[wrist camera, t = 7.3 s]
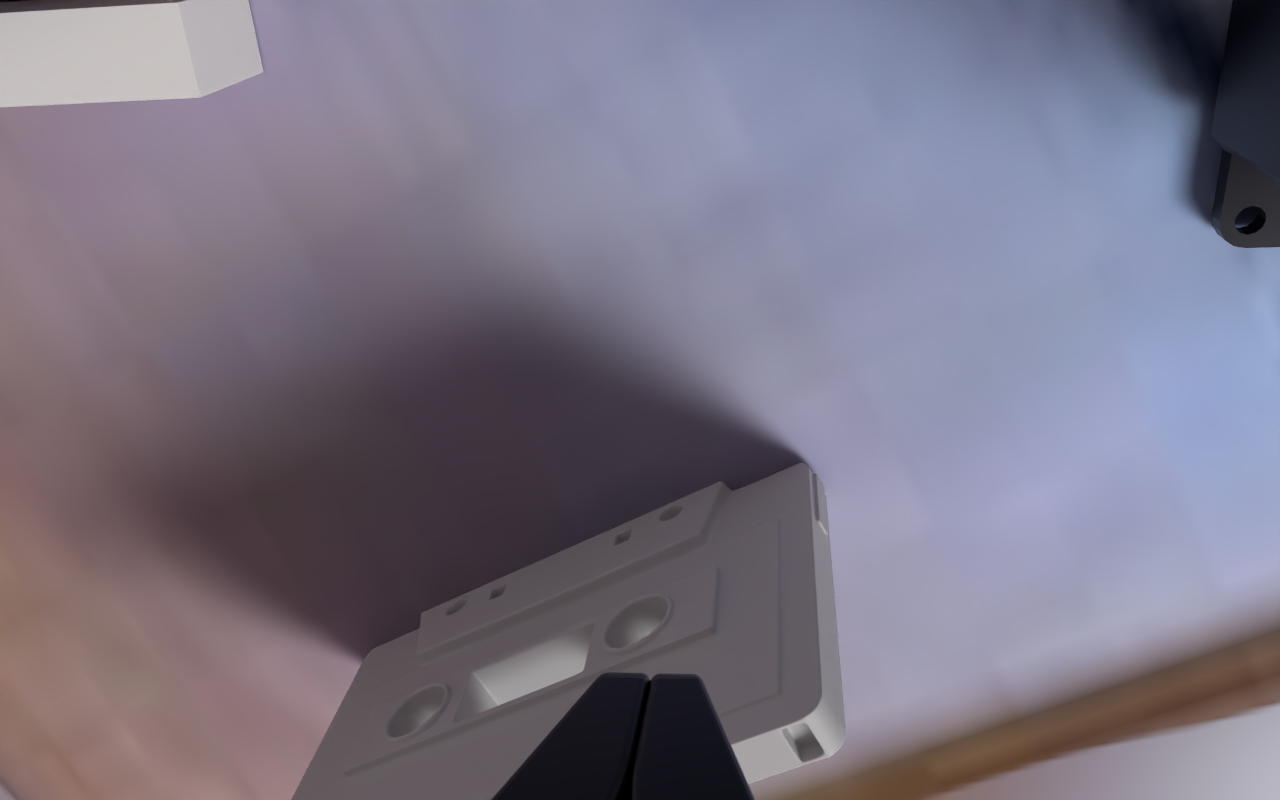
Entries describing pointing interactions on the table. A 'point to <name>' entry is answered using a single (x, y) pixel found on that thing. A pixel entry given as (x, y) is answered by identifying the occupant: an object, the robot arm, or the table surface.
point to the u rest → (123, 50)
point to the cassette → (608, 648)
